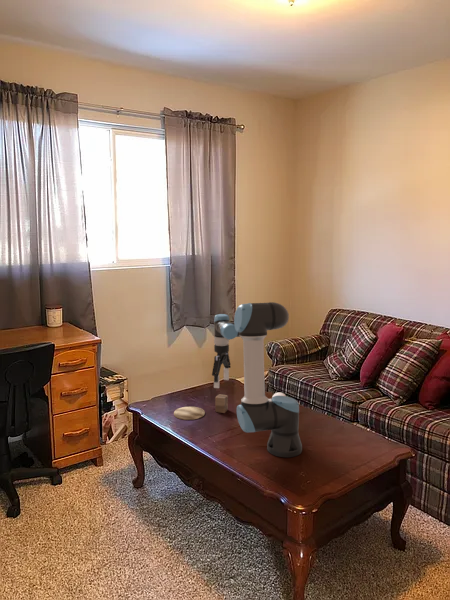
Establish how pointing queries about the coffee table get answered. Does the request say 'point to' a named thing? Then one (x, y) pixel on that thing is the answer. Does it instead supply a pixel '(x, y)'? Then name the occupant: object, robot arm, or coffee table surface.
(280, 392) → the mug
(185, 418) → the plate
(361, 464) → the coffee table surface
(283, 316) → the robot arm
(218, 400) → the block
